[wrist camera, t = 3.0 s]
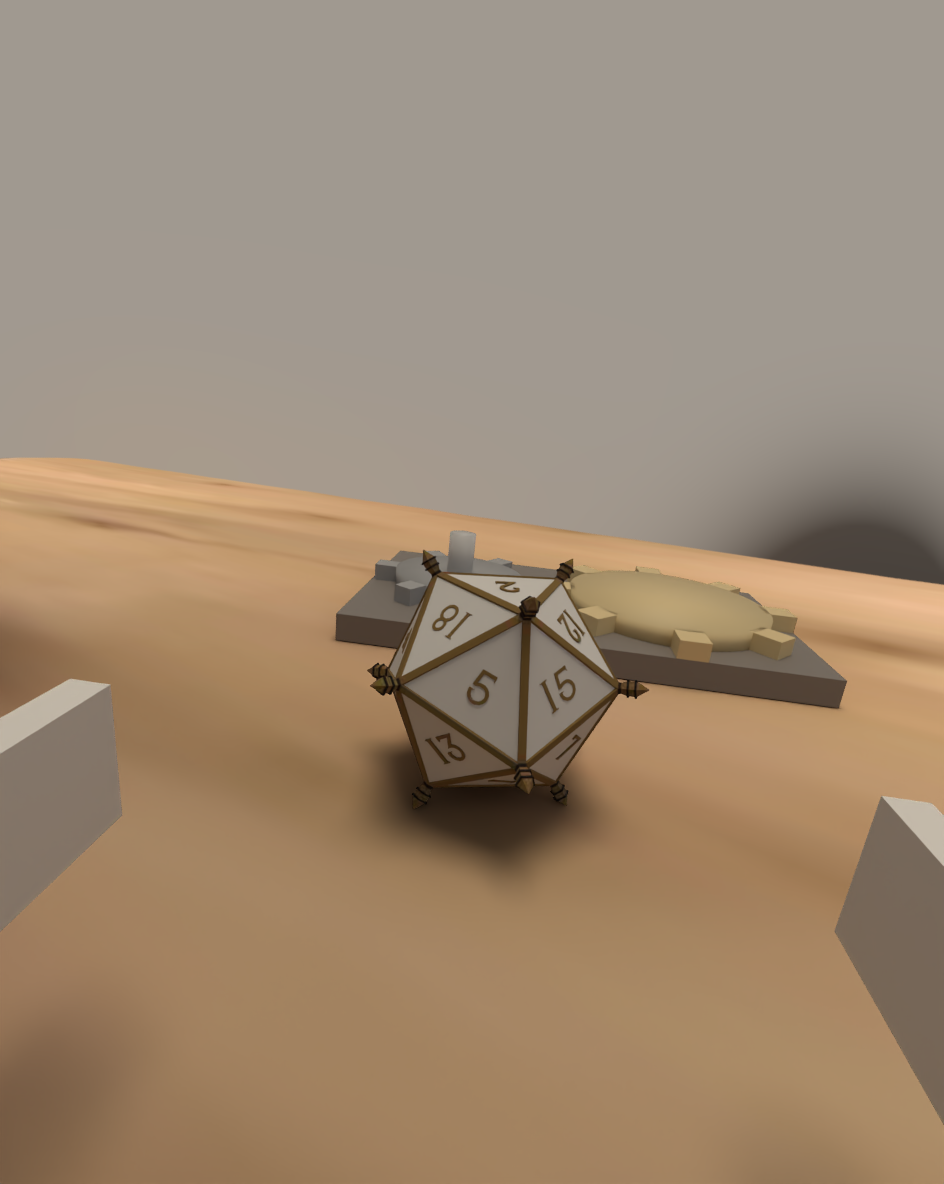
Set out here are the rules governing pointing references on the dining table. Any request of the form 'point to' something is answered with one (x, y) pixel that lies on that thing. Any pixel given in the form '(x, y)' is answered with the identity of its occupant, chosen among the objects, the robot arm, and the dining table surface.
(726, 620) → the gear board
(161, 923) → the dining table surface
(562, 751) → the game die
